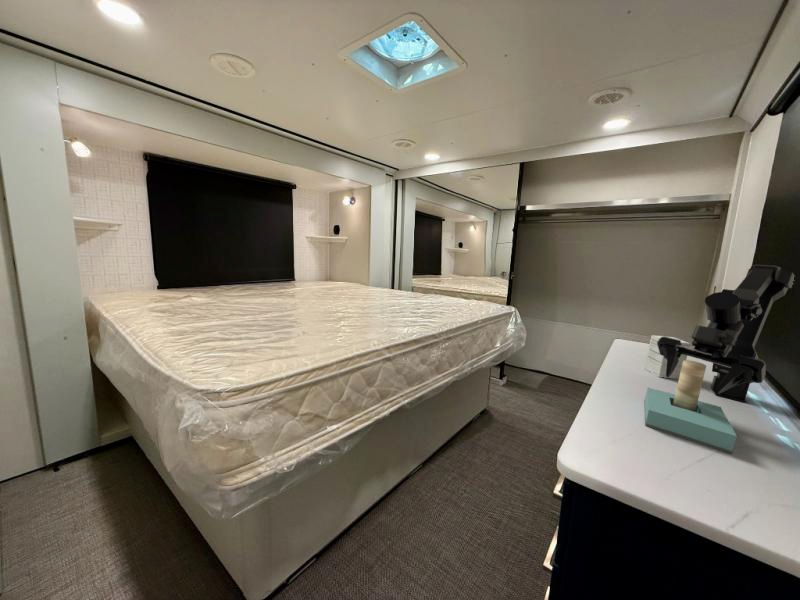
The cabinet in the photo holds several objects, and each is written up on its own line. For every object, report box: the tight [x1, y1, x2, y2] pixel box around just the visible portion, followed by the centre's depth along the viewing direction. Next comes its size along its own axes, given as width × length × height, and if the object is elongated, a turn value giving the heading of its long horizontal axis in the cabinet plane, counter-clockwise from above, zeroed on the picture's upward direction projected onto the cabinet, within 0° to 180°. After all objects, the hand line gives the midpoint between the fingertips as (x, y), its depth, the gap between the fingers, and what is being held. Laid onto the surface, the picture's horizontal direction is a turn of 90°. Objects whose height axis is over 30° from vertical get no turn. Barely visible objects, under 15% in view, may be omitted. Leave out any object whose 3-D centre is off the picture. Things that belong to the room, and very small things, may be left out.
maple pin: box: [673, 359, 707, 412], centre depth 73 cm, size 4×4×14 cm
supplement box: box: [643, 334, 691, 380], centre depth 104 cm, size 7×7×13 cm
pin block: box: [643, 387, 738, 454], centre depth 73 cm, size 14×16×4 cm
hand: (690, 384), depth 73 cm, fingers open, 9 cm apart
